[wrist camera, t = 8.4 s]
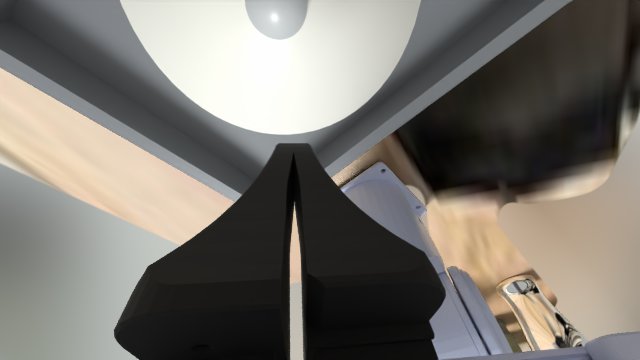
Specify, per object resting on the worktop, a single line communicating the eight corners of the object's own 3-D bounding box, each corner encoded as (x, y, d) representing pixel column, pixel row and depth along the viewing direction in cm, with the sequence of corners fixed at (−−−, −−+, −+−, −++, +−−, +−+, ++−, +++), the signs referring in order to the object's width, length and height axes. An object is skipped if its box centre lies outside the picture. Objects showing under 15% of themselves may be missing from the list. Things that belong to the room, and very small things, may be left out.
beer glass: (511, 295, 45) (585, 404, 34) (483, 291, 43) (553, 406, 32) (545, 275, 41) (642, 392, 30) (517, 270, 39) (610, 393, 28)
